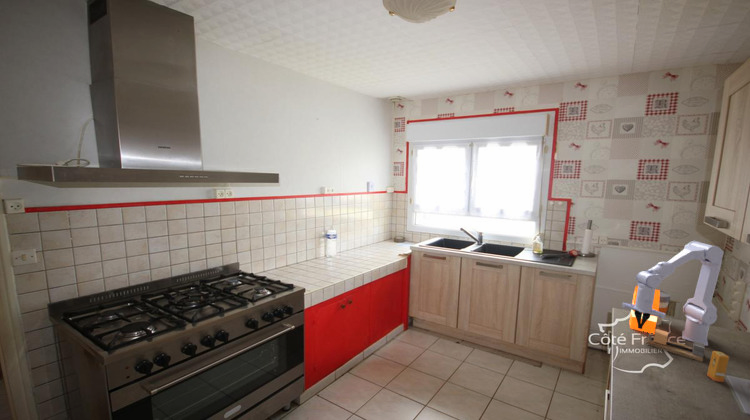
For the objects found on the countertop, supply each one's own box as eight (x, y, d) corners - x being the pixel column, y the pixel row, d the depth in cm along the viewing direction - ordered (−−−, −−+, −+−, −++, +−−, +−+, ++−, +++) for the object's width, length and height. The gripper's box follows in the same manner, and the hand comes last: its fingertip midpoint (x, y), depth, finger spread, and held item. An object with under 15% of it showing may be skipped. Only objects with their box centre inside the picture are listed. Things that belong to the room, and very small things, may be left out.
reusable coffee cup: (627, 316, 163) (631, 288, 161) (643, 312, 167) (647, 285, 165) (655, 328, 151) (660, 298, 149) (672, 324, 156) (677, 295, 153)
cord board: (648, 337, 144) (649, 326, 143) (701, 353, 132) (704, 341, 131) (646, 344, 138) (648, 333, 137) (702, 362, 126) (704, 350, 125)
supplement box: (724, 382, 114) (730, 357, 113) (713, 381, 115) (718, 355, 114) (717, 376, 118) (722, 351, 116) (706, 375, 118) (711, 350, 117)
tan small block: (654, 337, 141) (655, 328, 140) (666, 341, 138) (668, 332, 137) (653, 341, 137) (654, 332, 137) (665, 345, 135) (667, 336, 134)
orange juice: (629, 321, 157) (635, 283, 154) (652, 327, 152) (659, 287, 149) (630, 328, 151) (636, 288, 148) (654, 334, 146) (661, 293, 143)
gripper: (622, 296, 142) (618, 324, 144) (666, 307, 132) (661, 337, 134) (625, 291, 147) (620, 319, 149) (667, 302, 137) (662, 331, 139)
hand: (640, 327), depth 142 cm, fingers closed
